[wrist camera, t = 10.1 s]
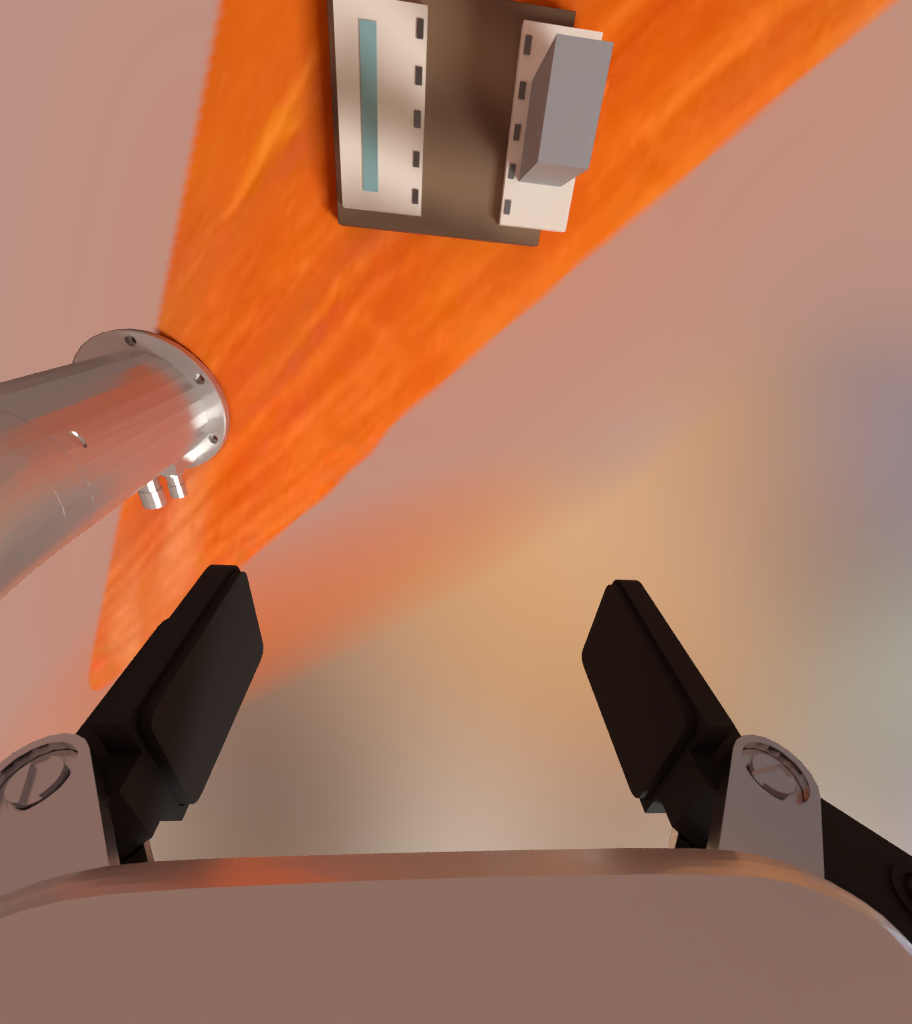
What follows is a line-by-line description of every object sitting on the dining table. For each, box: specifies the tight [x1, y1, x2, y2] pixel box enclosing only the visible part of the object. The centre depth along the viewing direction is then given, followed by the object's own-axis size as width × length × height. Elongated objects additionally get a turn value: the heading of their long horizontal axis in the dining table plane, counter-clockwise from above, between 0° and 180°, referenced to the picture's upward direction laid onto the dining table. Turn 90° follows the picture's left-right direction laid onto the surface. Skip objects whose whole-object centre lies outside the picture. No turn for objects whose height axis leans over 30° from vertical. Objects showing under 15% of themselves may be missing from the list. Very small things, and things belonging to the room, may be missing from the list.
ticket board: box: [327, 0, 576, 247], centre depth 27 cm, size 12×15×2 cm
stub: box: [499, 20, 614, 232], centre depth 25 cm, size 10×5×7 cm, turn 175°
